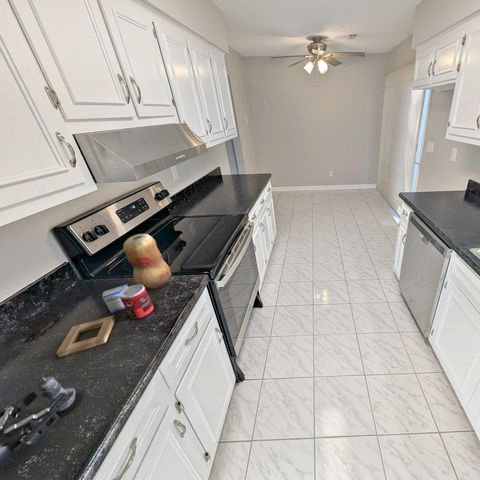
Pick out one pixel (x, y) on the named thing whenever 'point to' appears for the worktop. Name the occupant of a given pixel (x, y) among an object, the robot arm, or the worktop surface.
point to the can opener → (44, 329)
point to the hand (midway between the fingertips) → (49, 393)
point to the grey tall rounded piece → (55, 392)
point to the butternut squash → (146, 261)
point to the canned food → (136, 301)
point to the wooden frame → (71, 346)
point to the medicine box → (114, 298)
